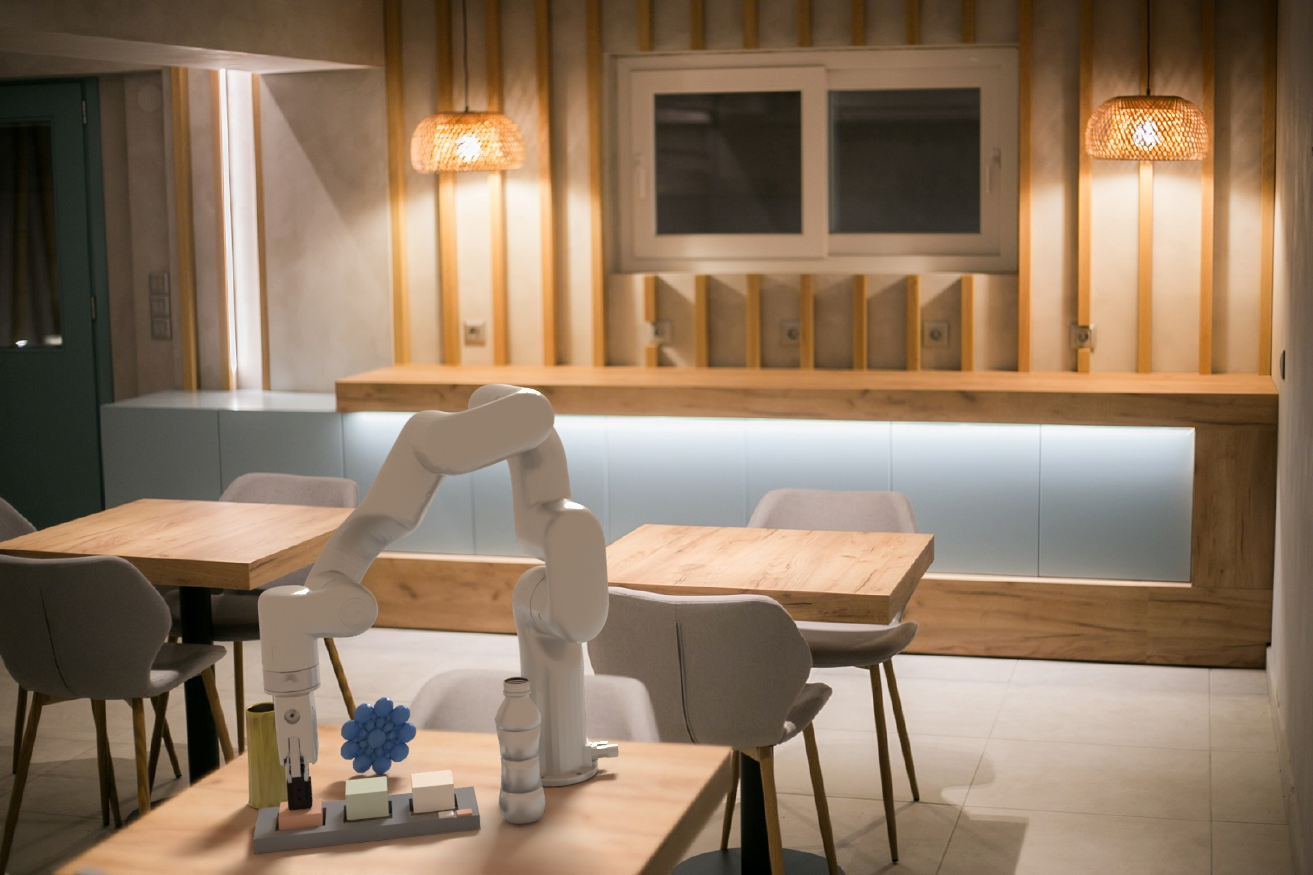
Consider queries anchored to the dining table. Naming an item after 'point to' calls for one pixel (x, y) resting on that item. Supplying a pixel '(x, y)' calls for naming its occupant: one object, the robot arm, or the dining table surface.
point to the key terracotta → (301, 816)
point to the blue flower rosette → (377, 736)
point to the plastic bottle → (519, 754)
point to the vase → (264, 758)
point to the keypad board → (366, 824)
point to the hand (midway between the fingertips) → (300, 807)
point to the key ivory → (432, 791)
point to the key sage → (366, 798)
